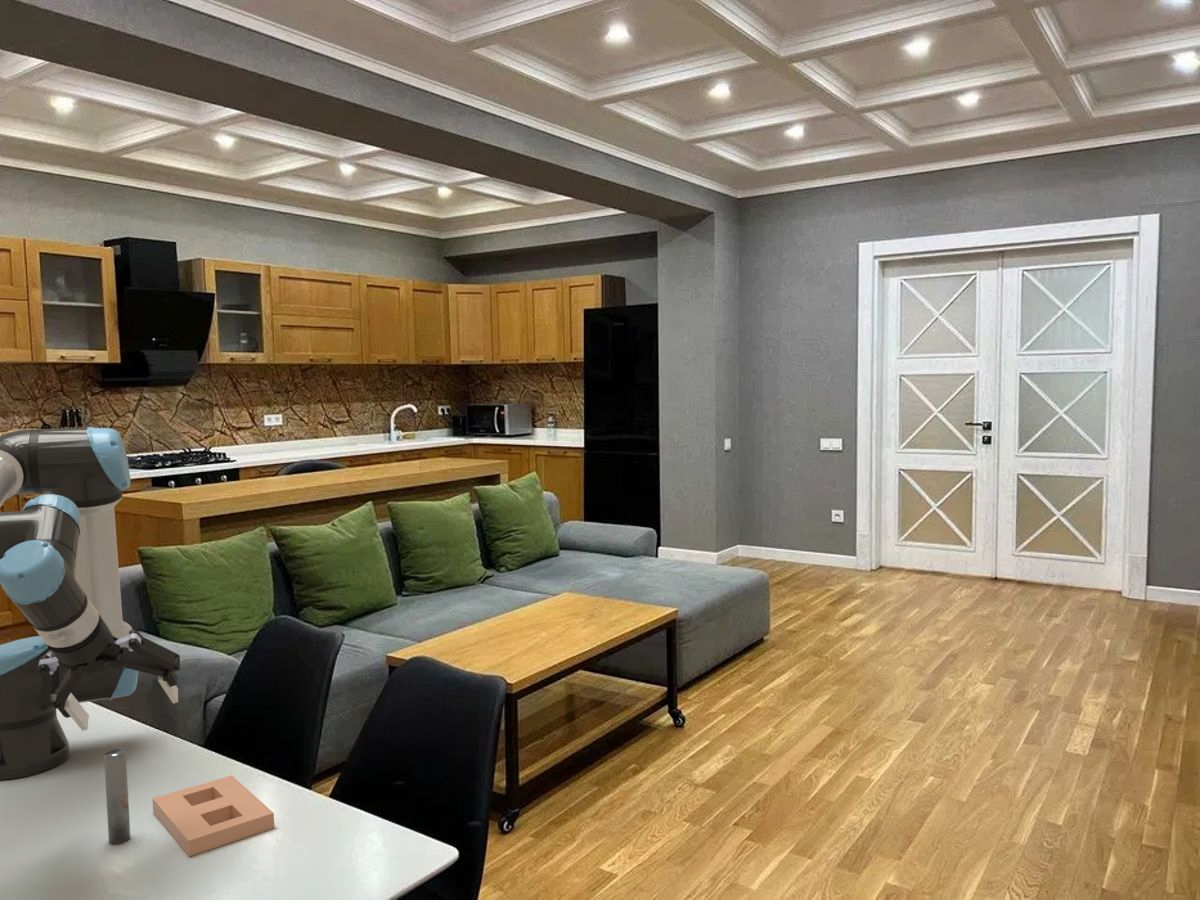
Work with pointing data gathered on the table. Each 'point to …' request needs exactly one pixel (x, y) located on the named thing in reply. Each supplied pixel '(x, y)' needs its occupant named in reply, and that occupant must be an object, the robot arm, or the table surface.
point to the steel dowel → (117, 796)
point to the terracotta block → (212, 814)
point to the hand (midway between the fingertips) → (131, 709)
